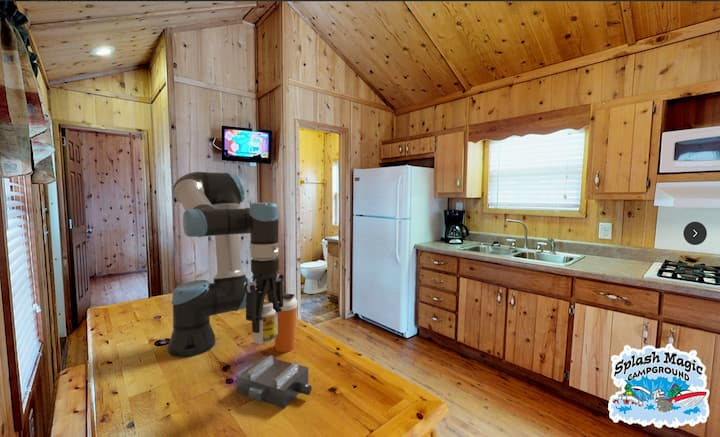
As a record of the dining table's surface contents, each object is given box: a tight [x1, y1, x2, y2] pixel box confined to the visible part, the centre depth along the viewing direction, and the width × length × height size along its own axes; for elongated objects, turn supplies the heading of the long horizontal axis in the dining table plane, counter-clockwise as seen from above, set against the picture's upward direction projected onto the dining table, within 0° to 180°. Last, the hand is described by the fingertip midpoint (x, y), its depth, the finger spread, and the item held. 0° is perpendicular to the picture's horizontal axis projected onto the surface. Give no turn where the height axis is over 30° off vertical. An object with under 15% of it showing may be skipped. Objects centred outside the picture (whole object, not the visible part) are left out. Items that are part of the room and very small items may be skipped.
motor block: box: [236, 354, 313, 409], centre depth 90 cm, size 20×14×6 cm
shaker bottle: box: [273, 292, 298, 353], centre depth 115 cm, size 9×9×20 cm
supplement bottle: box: [261, 301, 276, 344], centre depth 90 cm, size 6×6×10 cm
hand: (266, 337), depth 90 cm, fingers closed on supplement bottle, 6 cm apart
